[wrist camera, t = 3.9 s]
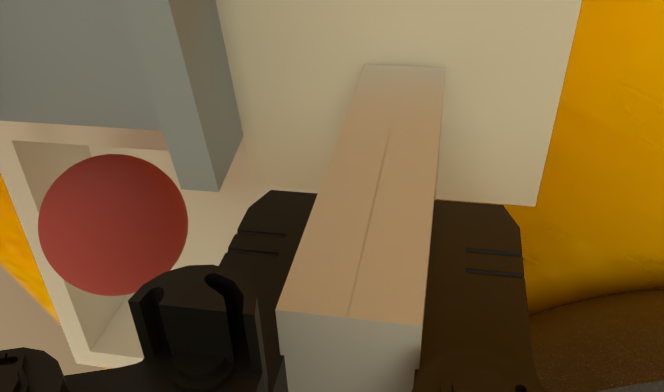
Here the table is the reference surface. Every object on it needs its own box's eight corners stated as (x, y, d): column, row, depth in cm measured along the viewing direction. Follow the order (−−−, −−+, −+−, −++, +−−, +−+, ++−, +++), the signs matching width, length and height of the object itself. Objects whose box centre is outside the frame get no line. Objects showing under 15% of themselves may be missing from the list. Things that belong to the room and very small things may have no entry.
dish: (53, 59, 21) (-23, 113, 18) (365, 72, 19) (343, 135, 16) (123, 291, 27) (76, 363, 24) (366, 317, 25) (351, 399, 22)
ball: (4, 305, 14) (89, 270, 18) (147, 322, 14) (206, 283, 17) (3, 152, 14) (90, 147, 17) (151, 162, 13) (211, 155, 17)
